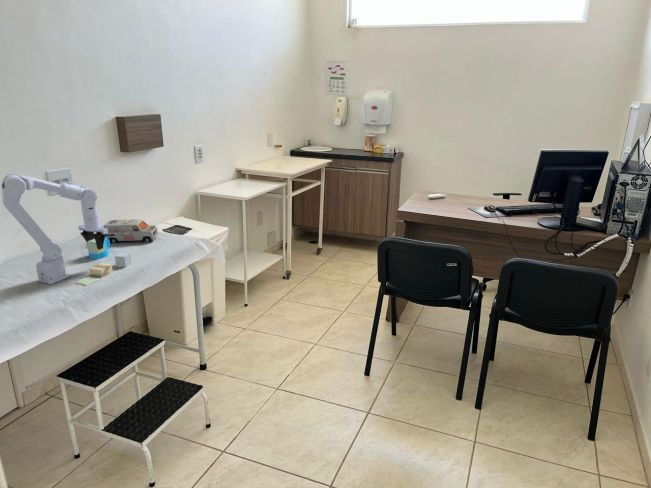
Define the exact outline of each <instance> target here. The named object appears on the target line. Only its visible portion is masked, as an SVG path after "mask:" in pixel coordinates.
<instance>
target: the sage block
mask: <svg viewBox="0 0 651 488" xmlns="http://www.w3.org/2000/svg"><path fill="white" fill-rule="evenodd" d="M87 244H88V247H87V251H88V250H89V253H93V254H99V253H101V252H104V251H105V245H104V244H103V249H100V250H98V248H97V244H96V241H95V239H93V240H90V241H87V242H86V245H87ZM89 253H88V254H89Z"/></svg>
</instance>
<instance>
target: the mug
mask: <svg viewBox="0 0 651 488" xmlns="http://www.w3.org/2000/svg"><path fill="white" fill-rule="evenodd" d="M86 245H87V248H88V244H87V243H86ZM104 245H105V251H104V252H101V253H99V254H93V253H89V250H88V249H87V252H88V257H89V259H91V258H92V260H98V259H99V258H100V259H104V258H107V257H109V255H110V254H109V249H110V245H111V243H110V240H108V239H107V238H106V237H105V239H104ZM100 259H99V260H100Z"/></svg>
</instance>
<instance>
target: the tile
mask: <svg viewBox="0 0 651 488" xmlns="http://www.w3.org/2000/svg"><path fill="white" fill-rule="evenodd" d="M100 280H101V278H99V277H95V276H89V275H88V276H85V277H84V278H81V279H79V280H76V281H73V283H74V284H79V285H82V286H86V287H87V286H88V285H92V284H93V283H96V282H98V281H100Z"/></svg>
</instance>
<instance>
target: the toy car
mask: <svg viewBox="0 0 651 488" xmlns="http://www.w3.org/2000/svg"><path fill="white" fill-rule="evenodd" d="M102 227H104V228H106V229H108V233H107V234H106V236H105V237H106V238H107V239H108V240H109V242H110V244H119V242H124V241H126V242H127V241H143V243H144V242H151V243H152V240H154V239H155V238H156V237H157V236H158V234H159V233H158V232H159V231H158V226H157V225H151V224H150V225H149V224H147V222H145V221H144V220H143V219H135V218H133V219H132V218H131V219H111V220H108V221H107V222H105V223H104V224H103V226H102Z"/></svg>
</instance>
